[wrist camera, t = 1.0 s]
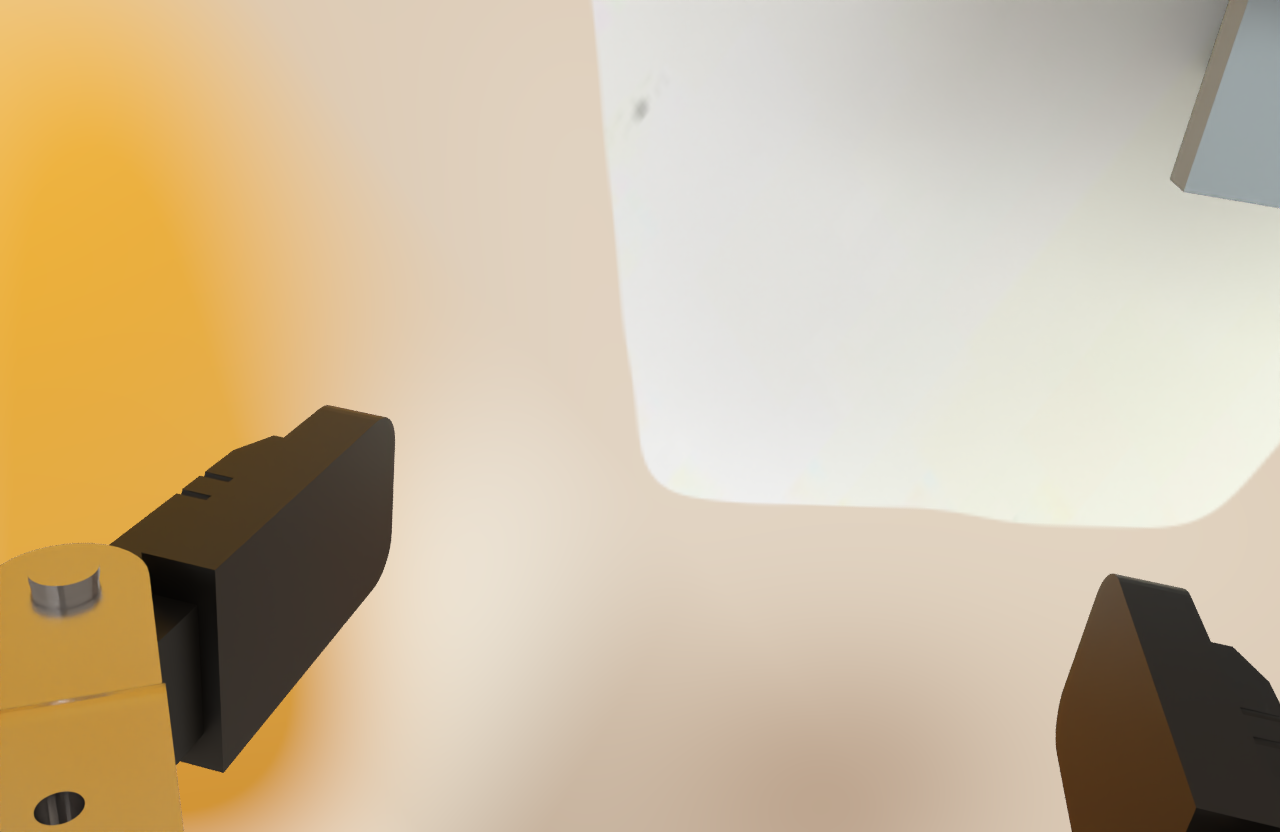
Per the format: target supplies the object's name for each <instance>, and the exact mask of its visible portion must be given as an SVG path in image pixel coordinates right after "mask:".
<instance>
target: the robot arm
mask: <svg viewBox="0 0 1280 832" xmlns="http://www.w3.org/2000/svg"><path fill="white" fill-rule="evenodd" d="M394 452H395V433H394V427H393V424H392V422H391V421H390V419H388V418H386V417H382V416H376V415H372V414H368V413H363V412H358V411H353V410H349V409H344V408H339V407H334V406H329V405H326V406H323V407H322V408H320V409H319V410H317V411H316V412H315V413H314V414H313V415H311V416H310V417H309V418H308V419H306V420H305V421H304V422H303V423H301V424H300V425H299V426H298V427H296V428H295V429H294V430H293V431H291V432H290V433H289V434H288V435H287V436H285V437H284V438H283V437H278V436H271V437H268V438H266V439H263V440H260V441H258V442H255V443H252V444H249V445H247V446H244V447H241V448H238V449H236V450H233V451H232V452H230V453H229V454H228V455H226V456H225V457H224V458H222V459H221V460H220V461H219V462H217V463H216V464H215V465H213V466H212V467H211V468H209V469H208V470H207V471H206V472H205V476H204V477H203V476H199V477H198V478H196V479H195V480H194V481H193V482H191V483H190V484H188V485H187V486H186V487H185V488H183V490H182V493H181V494H175V495H174V496H173V497H172V498H170V499H169V500H167V501H166V502H165V503H164V504H162V505H161V506H160V507H158V508H157V509H156V510H155V511H153V512H152V513H150V514H149V515H148V516H147V517H145V518H144V519H143V520H141V521H140V522H139V523H137V524H136V525H135V526H133V527H132V528H131V529H129V530H128V531H127V532H126V533H124V534H123V535H122V536H120V537H119V538H118V539H116V540H115V541H114V542H112V543H111V544H110V545H104V544H95V543H74V544H63V545H56V546H50V547H46V548H42V549H38V550H34V551H31V552H28V553H25V554H22V555H20V556H18V557H15V558H13V559H11V560H9V561H7V562H5V563H3V564H2V565H0V832H184V829H183V821H182V812H181V804H180V796H179V788H178V780H177V772H176V765H177V764H178V763H179V762H180V761H181V762H185V763H189V764H192V765H196V766H201V767H204V768H207V769H211V770H215V771H219V772H222V773H224V772H225V770H226V769H227V768H228V767H229V765H230V764H231V763H232V762H233V760H234V759H235V758H236V757H237V756H238V754H239V753H240V752H241V751H242V749H243V748H244V747H245V746H246V744H247V743H248V742H249V741H250V740H251V738H252V737H253V736H254V735H255V733H256V732H257V731H258V730H259V729H260V727H261V726H262V725H263V723H264V722H265V721H266V720H267V719H268V717H269V716H270V715H271V714H272V713H273V711H274V710H275V709H276V708H277V706H278V705H279V704H280V703H281V702H282V700H283V699H284V698H285V697H286V695H287V694H288V693H289V692H290V690H291V689H292V688H293V687H294V685H295V684H296V683H297V682H298V681H299V679H300V678H301V677H302V676H303V674H304V673H305V672H306V671H307V670H308V668H309V667H310V666H311V665H312V663H313V662H314V661H315V660H316V659H317V657H318V656H319V655H320V654H321V652H322V651H323V650H324V649H325V647H326V646H327V645H328V644H329V642H330V641H331V640H332V639H333V638H334V636H335V635H336V634H337V633H338V631H339V630H340V629H341V628H342V627H343V625H344V624H345V623H346V622H347V620H348V619H349V618H350V617H351V616H352V614H353V613H354V612H355V611H356V609H357V608H358V607H359V606H360V605H361V603H362V602H363V601H364V600H365V598H366V597H367V596H368V595H369V593H370V592H371V591H372V590H373V588H374V587H375V586H376V584H377V582H378V581H379V579H380V577H381V574H382V572H383V570H384V567H385V564H386V561H387V558H388V554H389V549H390V543H391V534H392V509H393V479H394ZM1056 750H1057V756H1058V762H1059V766H1060V772H1061V777H1062V782H1063V788H1064V793H1065V798H1066V803H1067V809H1068V813H1069V819H1070V824H1071V829H1072V832H1280V703H1279V701H1278V699H1277V697H1276V695H1275V693H1274V691H1273V689H1272V687H1271V685H1270V683H1269V681H1268V680H1266V679H1265V678H1264V677H1263V676H1262V675H1261V674H1260V673H1259V672H1258V671H1257V670H1256V669H1255V668H1254V667H1253V666H1252V665H1251V664H1250V663H1249V662H1248V661H1247V660H1246V659H1245V658H1244V657H1243V656H1241V654H1240V653H1239V652H1237V651H1236V650H1235V649H1234V648H1233V647H1231V646H1226V645H1222V644H1217V643H1213V642H1211V641H1210V639H1209V637H1208V634H1207V632H1206V630H1205V628H1204V625H1203V623H1202V621H1201V619H1200V616H1199V614H1198V612H1197V609H1196V607H1195V605H1194V603H1193V600H1192V598H1191V596H1190V594H1189V592H1188V591H1187V590H1185V589H1183V588H1178V587H1174V586H1169V585H1164V584H1159V583H1155V582H1150V581H1145V580H1140V579H1136V578H1131V577H1126V576H1122V575H1117V574H1110V575H1108V576H1107V577H1106V578H1105V579H1104V581H1103V582H1102V584H1101V586H1100V588H1099V591H1098V593H1097V596H1096V598H1095V601H1094V604H1093V607H1092V610H1091V612H1090V615H1089V618H1088V621H1087V624H1086V627H1085V630H1084V632H1083V635H1082V638H1081V641H1080V644H1079V647H1078V650H1077V652H1076V655H1075V658H1074V661H1073V664H1072V667H1071V669H1070V672H1069V675H1068V678H1067V681H1066V683H1065V687H1064V689H1063V692H1062V696H1061V700H1060V704H1059V709H1058V715H1057V724H1056Z"/></svg>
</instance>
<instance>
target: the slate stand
mask: <svg viewBox="0 0 1280 832" xmlns="http://www.w3.org/2000/svg"><path fill="white" fill-rule="evenodd" d="M1170 180H1171V181H1172V182H1173V183H1174V184H1176V185H1177V186H1178V187H1179V188H1180V189H1181V190H1182V191H1183V192H1187V193H1193V194H1199V195H1205V196H1211V197H1217V198H1223V199H1229V200H1235V201H1241V202H1246V203H1252V204H1258V205H1264V206H1270V207H1276V208H1280V0H1229V2H1228V5H1227V8H1226V11H1225V14H1224V17H1223V20H1222V23H1221V26H1220V29H1219V32H1218V35H1217V38H1216V41H1215V44H1214V47H1213V50H1212V53H1211V56H1210V60H1209V63H1208V66H1207V69H1206V72H1205V75H1204V78H1203V81H1202V84H1201V87H1200V90H1199V93H1198V96H1197V99H1196V102H1195V105H1194V108H1193V111H1192V114H1191V117H1190V120H1189V123H1188V126H1187V129H1186V132H1185V135H1184V138H1183V141H1182V144H1181V147H1180V150H1179V153H1178V156H1177V159H1176V162H1175V165H1174V168H1173V171H1172V174H1171V177H1170Z"/></svg>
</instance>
